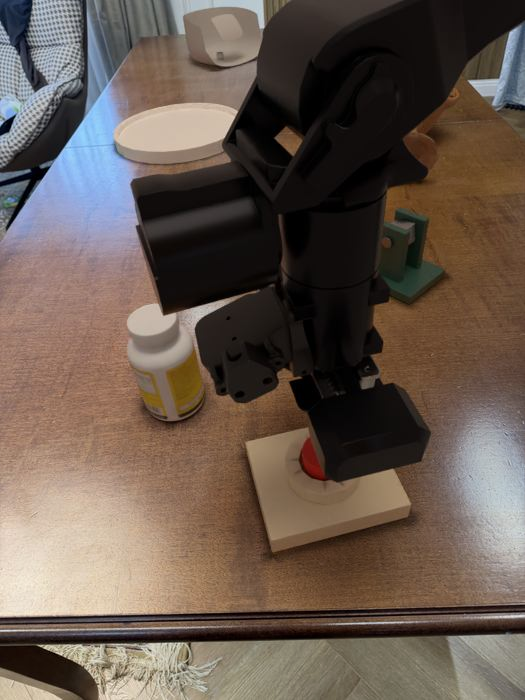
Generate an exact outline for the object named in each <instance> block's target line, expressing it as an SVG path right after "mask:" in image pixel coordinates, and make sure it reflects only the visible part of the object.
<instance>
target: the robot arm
mask: <svg viewBox="0 0 525 700" xmlns="http://www.w3.org/2000/svg"><path fill="white" fill-rule="evenodd" d="M523 24H525V0H289V1H288V2H286V3H285V4H284V5H283V6H282V7H281V8H279V10H278V11H276V12H275V13H274V14H273V15H272V16H271V17H270V19H269V20H268V22H267V23H266V25H265V27H264V28H263V31H262V42H261V45H260V49H259V53H258V56H257V57H256V75H255V77H254V80H253V81H252V83H251V85H250V87H249V89H248V91H247V93H246V95H245V97H244V99H243V100H242V104H241V105H240V107H239V109H238V110H237V111H238V113H237V115H236V116H235V118H234V120H233V122H232V124H231V126H230V128H229V130H228V132H227V134H226V136H225V138H224V140H223V142H222V148H223V150H224V151H223V152H224V153H225V154H226V156H227V157H228V158H229V160H230V161H228V162H225V163H220V164H219V163H218V164H215V165H211V166H207V167H206V166H205V167H201V168H198V169H191V170H188V171H183V172H179V173H173V174H171V173H155V174H150V175H145V176H140V177H136V178H133V179H132V180H131V182H130V183H129V186H130V190H131V193H132V197H133V201H134V210H135V215H136V218H137V222H138V224H136V225H135V226H134V227H135V230H136V234H137V238H138V240H139V244H140V248H141V251H142V255H143V258H144V262H145V266H146V268H147V269H146V270H147V272H148V275H149V279H150V283H151V285H152V289H153V291H154V295H155V298H156V300H157V303H158V304H159V307H160V310H161V312H162V315H163V316H166V315H169V314H173V313H180V312H183V311H187V310H191V309H195V308H198V307H203V306H205V305H209V304H213V303H216V302H220V301H223V300H227V299H230V298H231V299H232V298H234V297H238V296H240V297H238V298H236V299H234V300H232V301H230V302H229V303H227V304H224V305H223V306H220V307H218V308H217V309H215V310H212V311H211V312H209V313H207V314H205V315H203V316H202V317H201V318H199V320H198V321H197V322H196V324H195V325H194V335H195V339H196V344H197V350H198V354H199V358H200V362H201V365H202V366H203V367H204V368H205V370H206V371H207V372H208V373H209V375H210V378H211V380H212V382H213V386H214V390H215V394H216V395H217V396H219V397H225V396H229V397H230V398H231V399H232V400H233V402H234V403H235V404H248V403H250V402H252V401H254V400H256V399H259V398H260V397H262V396H265V395H266V394H269V393H271V392H273V391H274V390H276V389H277V388H278V386H279V384H280V380H279V376H278V373H279V372H281V371H283V370H284V369H285V370H286V371H289V372H291V374H292V376H293V378H294V379H292V380H289V381H288V384H289V387H290V389H291V392H292V395H293V397H294V401H295V403H296V405H297V407H298V409H299V410H300V411H301V412H304V413H306V425H307V427H308V429H309V434H310V439H311V442H312V445H313V448H314V450H315V453H316V456H317V458H318V461H319V464H320V466H321V469H322V472H323V474H324V477H326V478H328V479H330V480H332V481H334V482H337V483H338V482H342V481H346V480H350V479H354V478H358V477H362V476H366V475H370V474H374V473H378V472H382V471H386V470H390V469H394V470H395V469H399V468H402V467H407V466H411V465H414V464H418V463H421V462H423V460H424V458H425V456H426V453H427V450H428V447H429V442H430V439H431V435H432V431H431V430H430V427H429V426H428V424H427V422H425V419H424V418H423V416H422V415H421V413H420V411H419V410H418V408H417V406H416V405H415V403H414V401H413V399H412V398H411V396H410V394H409V393H408V391H407V390H406V388H403V387H402V386H401V385H398V384H396V383H395V382H389V383H383V381H382V379H381V375H382V372H381V370H380V368H379V366H378V365H377V363H376V361H375V359H374V357H373V355H377V354H382V353H383V349H384V342H385V341H384V339H383V337H382V336H381V334H380V333H379V331H378V330H377V327H376V326H375V325H374V318H375V317H374V316H375V309H376V306H378V305H383V304H387V303H390V297H391V295H390V289H391V288H390V287H389V286H388V284H387V283H386V281H385V280H384V279H383V277H382V276H381V274H380V273H379V263H380V254H381V245H382V235H383V226H384V221H385V216H386V205H387V199H388V190H389V189H393V188H395V187H399V186H404V185H408V184H413V183H415V182H420V181H423V180H425V179H426V178H427V176H428V175H429V172H430V171H429V170H428V167H427V166H426V165H425V164H423V163H422V162H420V161H419V160H418V159H417V158H416V157H415V156H414V155H413V154H412V153H411V152H410V150H409V149H408V148H407V146H406V144H405V142H404V140H403V138H404V137H406V136H407V135H408V134H409V133H410V132H411V131H413V130H414V129H415V128H416V127H417V126H419V125H420V124H421V123H422V122H423V121H424V120H426V119H427V118H428V117H429V116H430V115H432V114H433V113H434V112H435V111H436V110H437V109H439V108H440V107H441V106H442V105H443V104H444V102H445V101H446V100H447V98H448V97H449V95H450V93H451V91H452V90H453V88H455V86H456V84H457V83H458V81H459V79H460V77H461V76H462V74H463V72H464V70H465V69H466V67H467V65H468V64H469V63H470V62H472V61H473V60H474V59H475V58H476V57H477V56H479V55H480V54H481V53H482V52H483V51H484V50H485V49H487V48H488V47H490V46H491V45H492V44H494V43H495V42H497V41H498V40H500V39H501V38H503V37H505V36H506V35H508V34H509V33H510V32H513V31H514V30H515V29H518V28H519V27H520V26H522V25H523ZM285 128H287V129H289V130H290V131H291V132H292V133H293V134H295V136H297V137H298V138H299V139H300V140H301V143H300V144H299V146H298V148H297V149H296V151H295V153H294V155H293V154H292V153H291V152H290V151H289V150H287V148H285V147H284V146H283V145H282V143H280V142H279V141H278V140H277V139H276V137H277V136H278V135H280V133H281V132H283V130H284V129H285ZM428 171H429V172H428ZM252 292H255V293H252ZM295 378H296V379H295Z"/></svg>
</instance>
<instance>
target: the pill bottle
mask: <svg viewBox="0 0 525 700" xmlns="http://www.w3.org/2000/svg"><path fill="white" fill-rule="evenodd" d="M177 313H178V312H176V313H173V314H169V315H166V316H163V315H162V312H161V310H160V307H159V304H158V302H156V303H149V304H146V305H142V306H140V307H138V308H137V309H135V310H134V311H133V312H132V313H130V315H128V318H127V320H126V328H127V331H128V334H129V337H130V338H129V340H128V342H127V345H126V356H127V360H128V363H129V365H130V368H131V371H132V373H133V375H134V378H135V382H136V384H137V386H138V389H139V392H140V394H141V397H142V399H143V403H144V406H145V407H146V410H147V411H148V412H149V414H150V415H152V416H153V418H156V419H158V420H160V421H165V422H175V421H176V422H177V421H181V420H184V419H186V418H188V417H190V416H192V415H193V414H195V413H196V412H197V411H198V410H199V409H200V408H201V407H202V405H203V403H204V400H205V396H206V395H205V394H206V391H205V385H204V381H203V377H202V373H201V368H200V364H199V360H198V355H197V350H196V346H195V343H194V338H193V336H192V334H191V332H190V331H189V330H188V328H186V327H185V326H184V325H182V324H180V321H179V317H178V314H177Z"/></svg>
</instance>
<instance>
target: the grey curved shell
mask: <svg viewBox="0 0 525 700" xmlns="http://www.w3.org/2000/svg"><path fill="white" fill-rule="evenodd" d="M182 22H183V28H184V35H185V40H186V45H187V49H188V52H189V55H190V57H192V59H193V60H195V61H197V62H198V63H201V64H205V65H210V66H217V67H234V66H240V65H242V64H245V63H248V62H250V61H252V60H254V59H255V58H257V56H258V53H259V49H260V45H261V42H262V38H263V36H262V35H261V28H260V23H259V22H260V21H259V16H258V13H256V12H255V11H253V10H251V9H248V8H244V7H239V6H215V7H208V8H202V9H198V10H193V11H190V12H188V13H185V14H184V15H183V16H182Z"/></svg>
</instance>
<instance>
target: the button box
mask: <svg viewBox="0 0 525 700" xmlns="http://www.w3.org/2000/svg"><path fill="white" fill-rule="evenodd" d="M309 437H310V434H309V429H308V426H307V427H302V428H299V429H294V430H290V431H285V432H281V433H277V434H272V435H268V436H265V437H260V438H256V439H251V440H248V441H245V449H246V455H247V459H248V463H249V468H250V471H251V475H252V479H253V483H254V487H255V490H256V491H255V492H256V495H257V498H258V502H259V507H260V511H261V514H262V518H263V523H264V525H265V530H266V535H267V538H268V543H269V546H270V549H271V553H277V552H282V551H284V550H288V549H291V548H297V547H300V546H303V545H307V544H311V543H315V542H318V541H322V540H326V539H329V538H334V537H337V536H341V535H345V534H349V533H352V532H357V531H361V530H364V529H367V528H371V527H375V526H379V525H383V524H387V523H390V522H391V523H392V522H394V521H398V520H402V519H406V518H408V517H409V515H410V512H411V508H412V502H411V501H410V499H409V496H408V495H407V492H406V490H405V489H404V487H403V485H402V483H401V480H400V478H399V477H398V474H397V472H396V470H395V468H394V469H390V470H386V471H382V472H378V473H374V474H370V475H366V476H362V477H358V478H354V479H350V480H346V481H342V482H338V483H337V482H334V481H332V480H330V479H328V480H320V479H316V478H314V477H312V476H310V475H309V474H308V473H307V472H306V471H305V469H304V467H303V463H302V447H303V444H304V442H305V441H306V440H307V439H308V438H309Z"/></svg>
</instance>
